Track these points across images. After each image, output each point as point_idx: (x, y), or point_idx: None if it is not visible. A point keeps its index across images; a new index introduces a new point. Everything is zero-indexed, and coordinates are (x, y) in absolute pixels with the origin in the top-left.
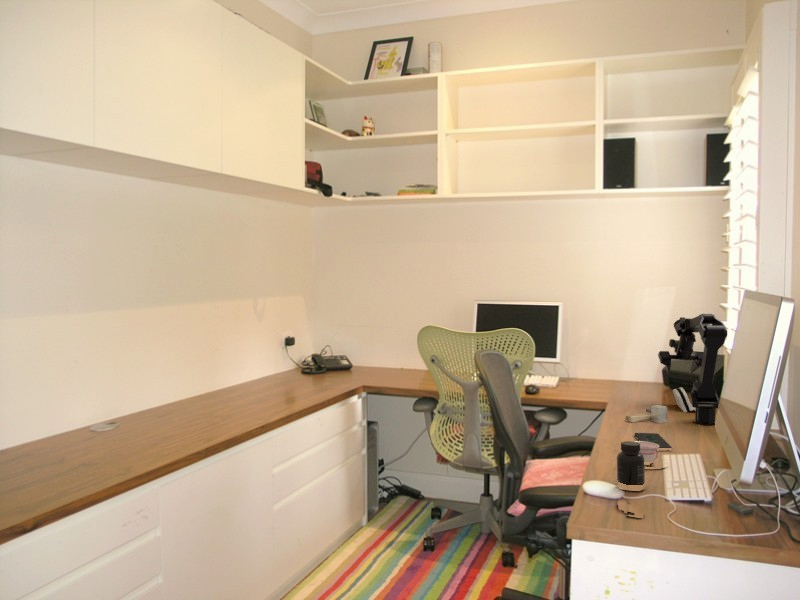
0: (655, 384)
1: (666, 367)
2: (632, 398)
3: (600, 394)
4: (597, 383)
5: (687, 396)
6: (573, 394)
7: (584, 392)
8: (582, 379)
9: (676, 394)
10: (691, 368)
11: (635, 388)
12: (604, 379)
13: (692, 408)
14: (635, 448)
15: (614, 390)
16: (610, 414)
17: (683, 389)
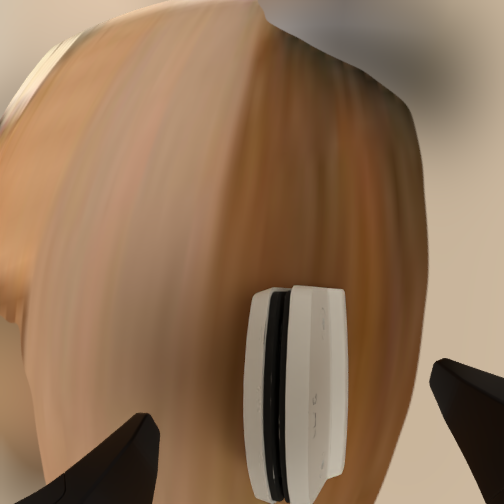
0: (250, 8)
1: (91, 462)
2: (116, 187)
3: (53, 157)
4: (116, 40)
5: (312, 502)
6: (4, 189)
7: (34, 148)
8: (108, 28)
9: (251, 482)
10: (477, 416)
11: (184, 44)
12: (151, 11)
13: (327, 477)
14: None
15: (115, 85)
16: None
17: (305, 462)
